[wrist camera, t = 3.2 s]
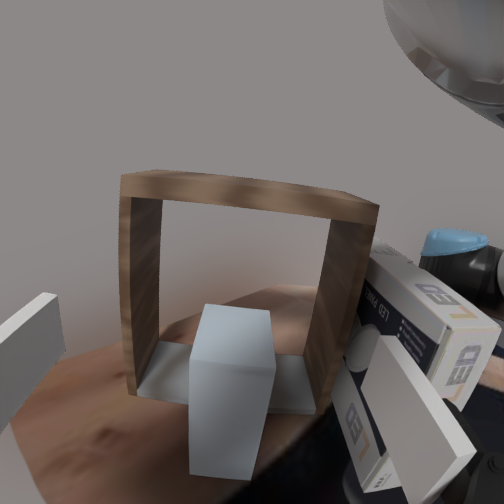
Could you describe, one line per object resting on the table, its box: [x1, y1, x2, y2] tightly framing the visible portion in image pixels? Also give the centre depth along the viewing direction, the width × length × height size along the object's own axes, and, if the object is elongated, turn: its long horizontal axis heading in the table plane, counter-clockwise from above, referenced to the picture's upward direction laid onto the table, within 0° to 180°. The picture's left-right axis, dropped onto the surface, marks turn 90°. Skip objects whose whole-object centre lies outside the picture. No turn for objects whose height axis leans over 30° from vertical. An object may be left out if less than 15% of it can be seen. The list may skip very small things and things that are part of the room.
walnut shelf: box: [119, 170, 379, 415], centre depth 37 cm, size 24×12×26 cm, turn 90°
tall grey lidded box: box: [189, 304, 276, 480], centre depth 27 cm, size 6×9×15 cm, turn 0°
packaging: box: [330, 236, 502, 493], centre depth 36 cm, size 30×6×20 cm, turn 2°
